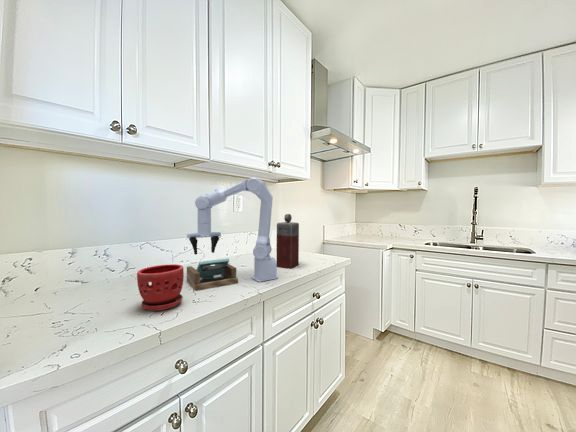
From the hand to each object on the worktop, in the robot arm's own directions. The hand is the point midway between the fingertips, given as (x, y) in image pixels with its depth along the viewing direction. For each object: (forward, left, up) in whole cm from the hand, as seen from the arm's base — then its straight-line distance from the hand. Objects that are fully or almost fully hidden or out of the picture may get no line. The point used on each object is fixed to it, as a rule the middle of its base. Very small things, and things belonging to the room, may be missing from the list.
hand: (204, 253), depth 111 cm
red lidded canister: (-42, +4, -11) cm, 44 cm away
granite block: (0, +5, -8) cm, 9 cm away
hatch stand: (0, +10, -10) cm, 14 cm away
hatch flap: (0, +12, -7) cm, 14 cm away
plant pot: (+21, +26, -11) cm, 35 cm away
